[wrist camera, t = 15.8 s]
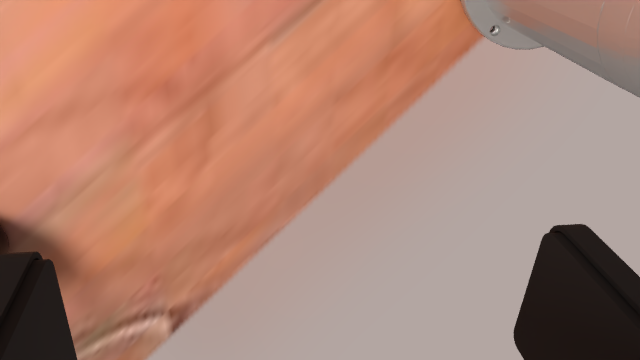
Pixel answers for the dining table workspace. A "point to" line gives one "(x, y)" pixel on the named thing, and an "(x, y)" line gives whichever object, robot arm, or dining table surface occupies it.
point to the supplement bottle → (3, 242)
